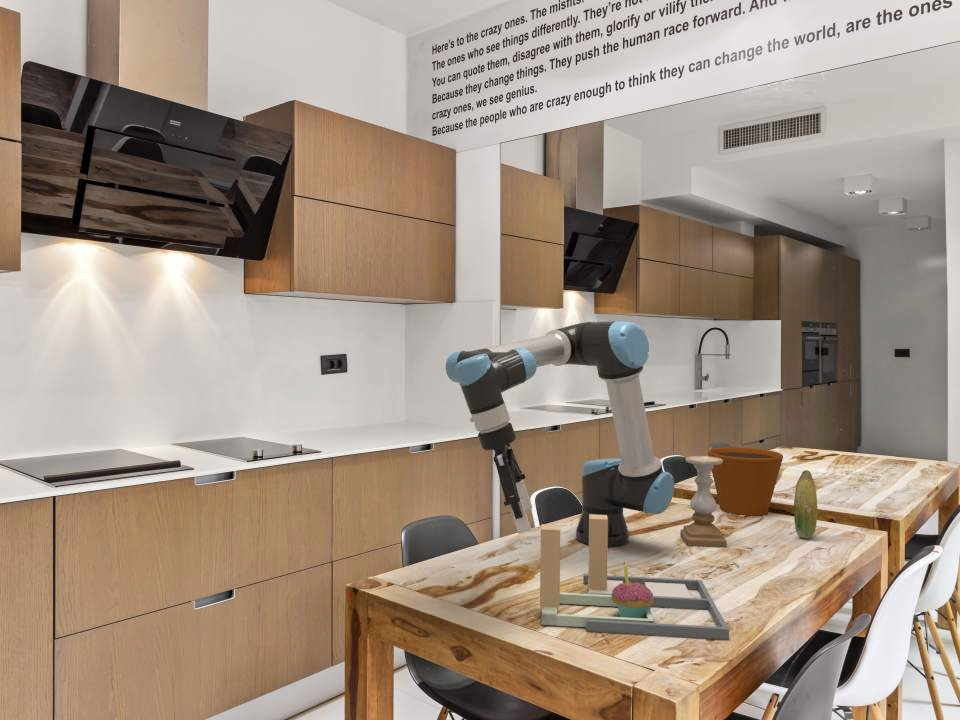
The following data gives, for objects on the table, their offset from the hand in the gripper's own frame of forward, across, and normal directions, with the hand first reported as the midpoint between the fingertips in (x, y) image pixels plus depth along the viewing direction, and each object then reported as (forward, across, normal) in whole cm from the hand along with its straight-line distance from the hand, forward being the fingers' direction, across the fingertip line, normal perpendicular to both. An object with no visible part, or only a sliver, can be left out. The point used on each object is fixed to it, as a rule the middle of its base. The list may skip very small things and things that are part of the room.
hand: (525, 520), depth 150 cm
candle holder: (+39, -53, +39) cm, 76 cm away
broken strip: (+26, -8, +17) cm, 33 cm away
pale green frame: (+22, +5, +8) cm, 24 cm away
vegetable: (+49, -60, +68) cm, 102 cm away
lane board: (+26, -1, +18) cm, 32 cm away
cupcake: (+25, +5, +15) cm, 29 cm away
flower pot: (+49, -92, +58) cm, 119 cm away
